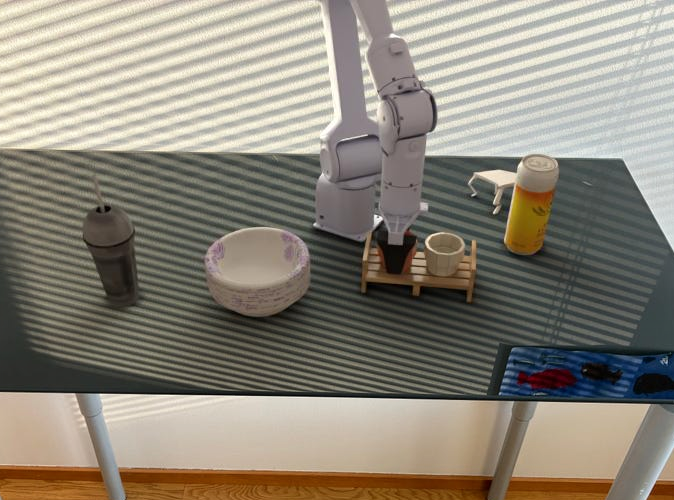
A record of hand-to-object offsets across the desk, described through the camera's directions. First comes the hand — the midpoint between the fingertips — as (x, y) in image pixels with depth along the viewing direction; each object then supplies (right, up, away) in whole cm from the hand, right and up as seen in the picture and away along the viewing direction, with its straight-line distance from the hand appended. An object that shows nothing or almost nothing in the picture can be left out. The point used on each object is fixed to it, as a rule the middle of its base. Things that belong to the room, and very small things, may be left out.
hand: (396, 257), depth 115 cm
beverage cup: (-41, -6, 0) cm, 41 cm away
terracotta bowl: (0, -1, +1) cm, 1 cm away
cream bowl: (+7, -2, 0) cm, 7 cm away
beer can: (+21, +3, +9) cm, 24 cm away
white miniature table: (+21, +12, +19) cm, 30 cm away
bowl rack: (+3, -3, +3) cm, 5 cm away
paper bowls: (-20, -6, 0) cm, 21 cm away
